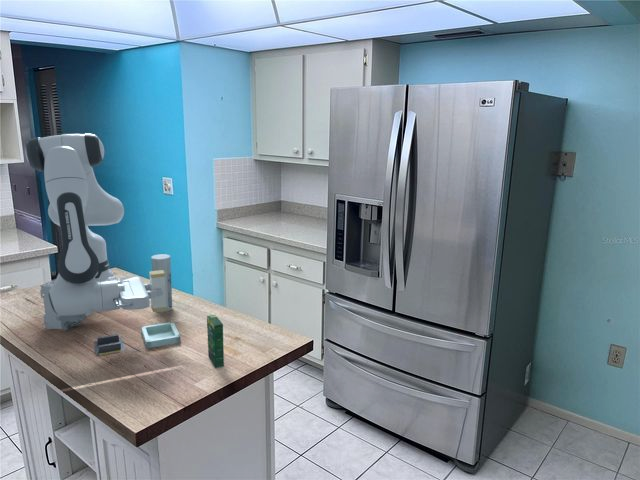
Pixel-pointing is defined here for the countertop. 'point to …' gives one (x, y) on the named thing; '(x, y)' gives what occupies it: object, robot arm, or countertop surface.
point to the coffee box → (215, 341)
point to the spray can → (164, 264)
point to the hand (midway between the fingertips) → (160, 289)
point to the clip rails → (108, 345)
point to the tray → (160, 334)
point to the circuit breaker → (54, 319)
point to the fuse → (158, 283)
